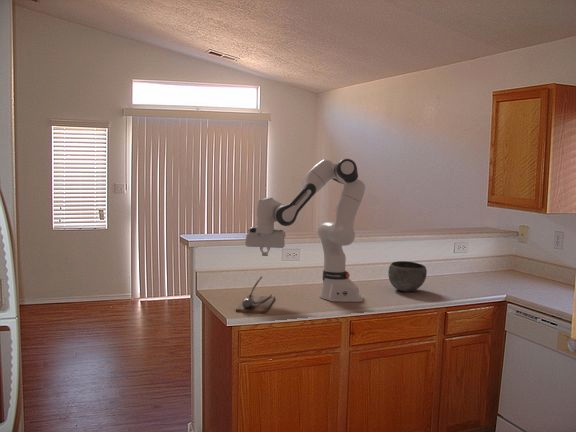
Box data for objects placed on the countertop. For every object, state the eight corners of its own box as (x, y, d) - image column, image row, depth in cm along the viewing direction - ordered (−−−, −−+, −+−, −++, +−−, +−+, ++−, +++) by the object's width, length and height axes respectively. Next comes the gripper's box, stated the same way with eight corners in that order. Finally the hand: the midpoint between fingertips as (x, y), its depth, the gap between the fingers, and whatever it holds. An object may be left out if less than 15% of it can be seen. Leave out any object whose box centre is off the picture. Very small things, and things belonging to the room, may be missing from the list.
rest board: (275, 299, 292) (275, 296, 292) (265, 313, 265) (265, 310, 265) (248, 297, 294) (248, 295, 294) (235, 311, 267) (235, 309, 267)
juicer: (272, 295, 294) (257, 313, 265) (250, 294, 296) (234, 311, 267) (272, 277, 292) (257, 292, 263) (251, 275, 294) (234, 290, 265)
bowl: (398, 296, 307) (400, 268, 305) (380, 287, 327) (381, 261, 325) (433, 294, 314) (434, 267, 312) (413, 285, 333) (414, 260, 332)
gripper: (286, 229, 298) (285, 255, 300) (247, 227, 300) (246, 254, 302) (284, 230, 292) (284, 257, 293) (244, 229, 294) (244, 256, 296)
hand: (264, 255), depth 298 cm, fingers closed
